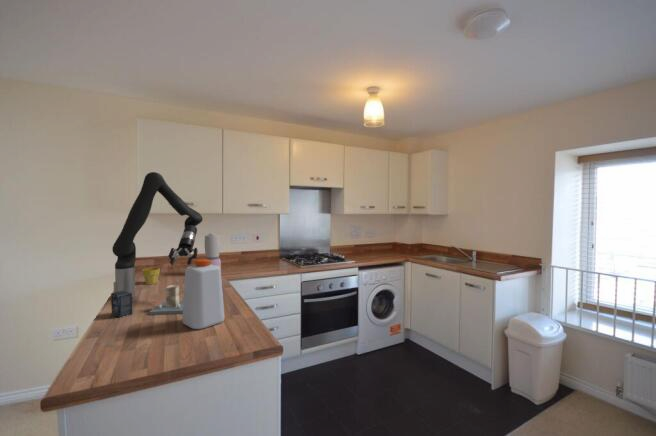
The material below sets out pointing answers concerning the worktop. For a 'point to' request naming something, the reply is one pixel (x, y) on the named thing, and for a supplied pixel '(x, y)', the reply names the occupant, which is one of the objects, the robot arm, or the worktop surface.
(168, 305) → the birch block
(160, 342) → the worktop surface
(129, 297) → the box
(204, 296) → the plastic bottle
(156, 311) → the locating plate
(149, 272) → the plant pot
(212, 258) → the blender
